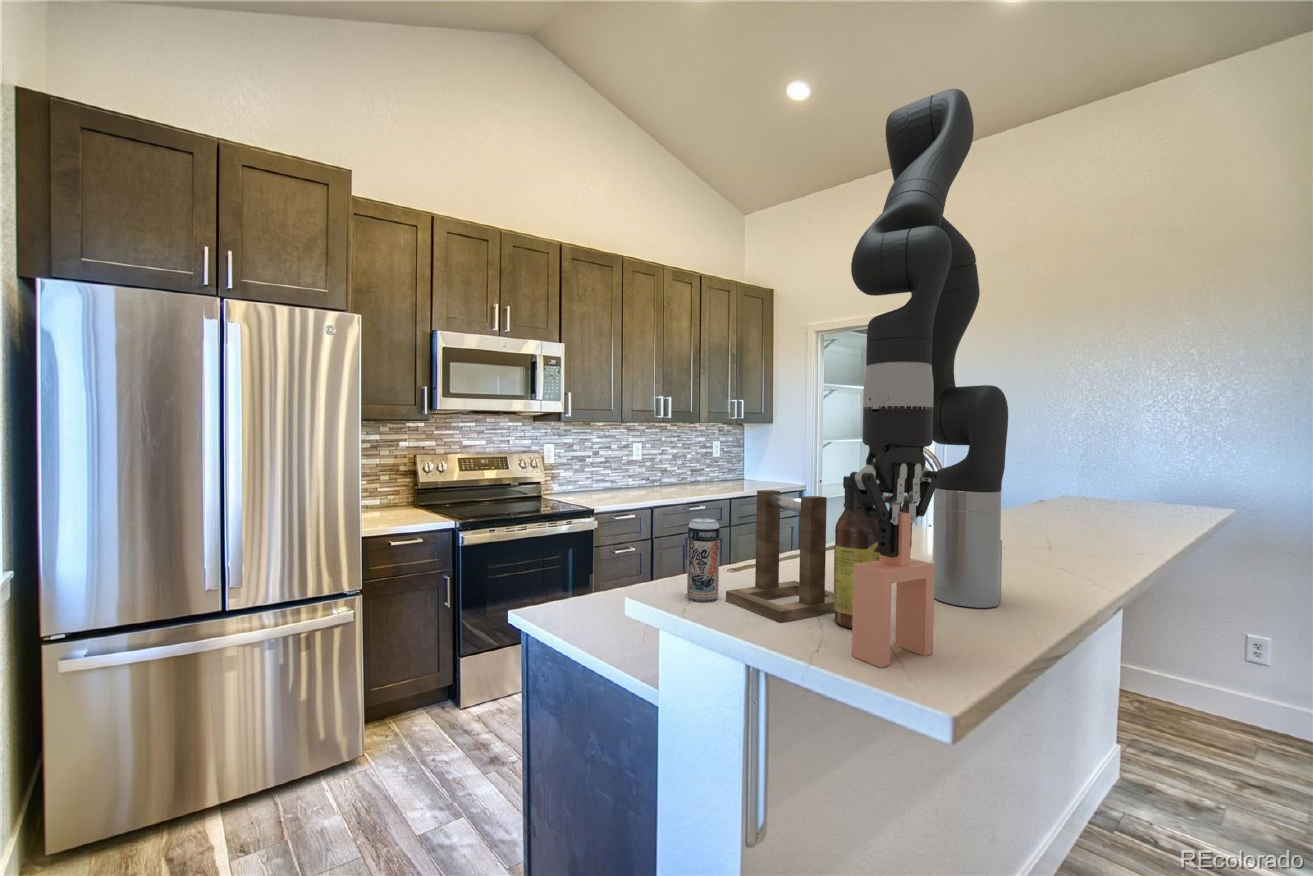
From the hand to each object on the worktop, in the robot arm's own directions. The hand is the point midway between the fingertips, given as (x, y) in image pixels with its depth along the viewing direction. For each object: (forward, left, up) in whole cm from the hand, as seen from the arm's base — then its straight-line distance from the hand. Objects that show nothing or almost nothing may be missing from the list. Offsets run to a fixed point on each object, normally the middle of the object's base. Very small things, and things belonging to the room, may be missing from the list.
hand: (894, 554), depth 69 cm
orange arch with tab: (0, 0, -12) cm, 12 cm away
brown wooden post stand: (-4, -21, -12) cm, 24 cm away
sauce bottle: (-6, -10, -12) cm, 16 cm away
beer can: (+6, -30, -12) cm, 33 cm away
